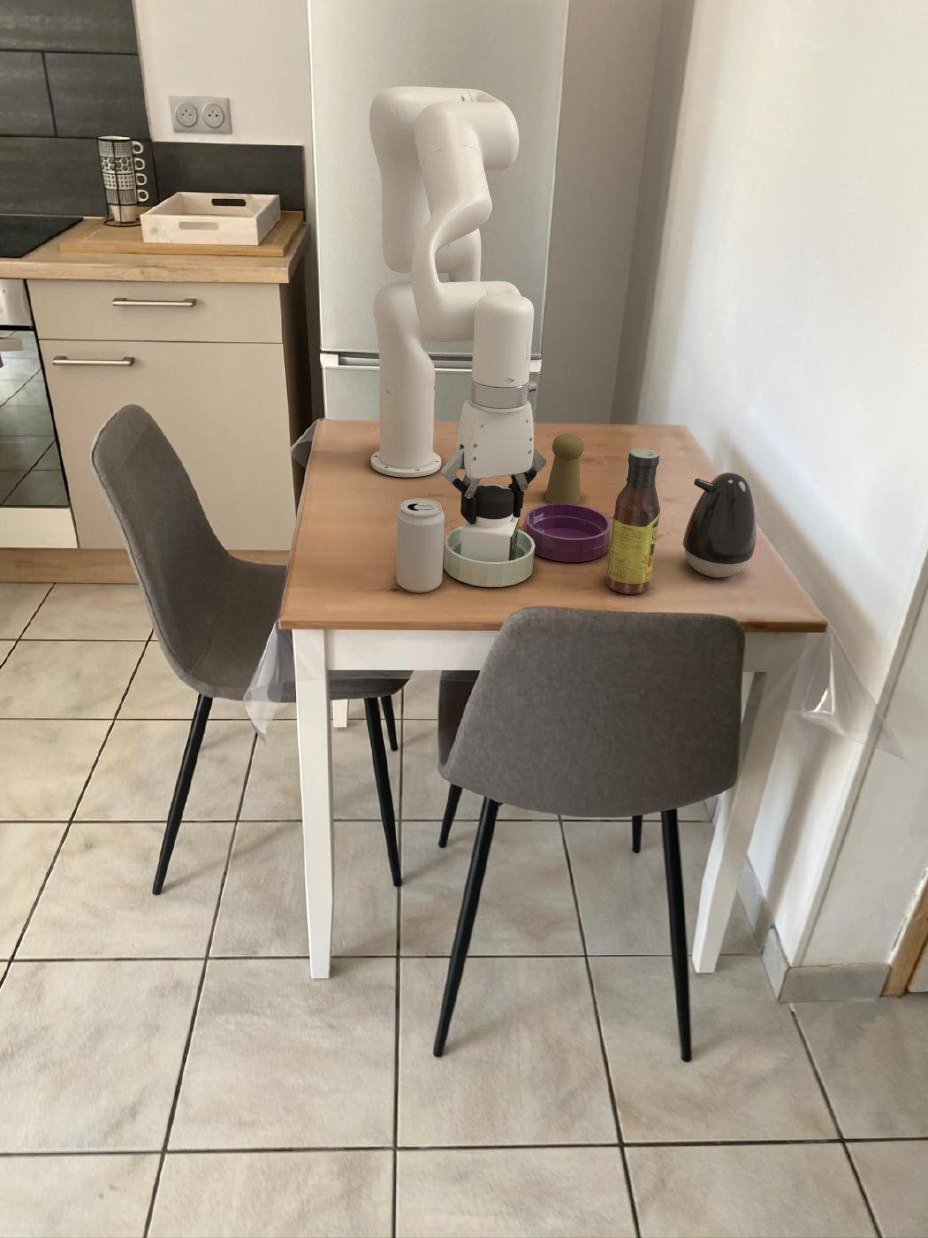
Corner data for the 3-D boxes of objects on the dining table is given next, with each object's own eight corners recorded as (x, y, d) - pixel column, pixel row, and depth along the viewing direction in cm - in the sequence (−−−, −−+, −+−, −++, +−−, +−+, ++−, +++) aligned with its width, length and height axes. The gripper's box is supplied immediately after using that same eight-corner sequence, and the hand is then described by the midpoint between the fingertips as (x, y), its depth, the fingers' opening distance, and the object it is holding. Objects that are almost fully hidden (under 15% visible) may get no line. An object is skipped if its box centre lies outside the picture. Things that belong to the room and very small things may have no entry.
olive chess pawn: (583, 495, 164) (591, 433, 158) (575, 508, 159) (583, 445, 153) (549, 489, 165) (555, 428, 160) (540, 502, 161) (546, 439, 155)
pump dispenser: (669, 553, 146) (686, 459, 138) (735, 553, 147) (755, 460, 139) (688, 585, 137) (706, 487, 130) (758, 586, 138) (780, 488, 130)
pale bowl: (430, 554, 142) (430, 530, 140) (508, 541, 147) (510, 518, 145) (465, 595, 132) (466, 569, 130) (548, 580, 137) (550, 555, 135)
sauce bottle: (653, 596, 134) (675, 463, 124) (609, 596, 134) (628, 462, 123) (642, 574, 140) (662, 445, 130) (600, 574, 139) (617, 444, 129)
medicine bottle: (508, 579, 136) (514, 502, 130) (459, 573, 137) (462, 495, 131) (516, 557, 142) (522, 482, 136) (468, 551, 143) (472, 476, 137)
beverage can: (395, 573, 137) (396, 495, 131) (440, 573, 137) (443, 496, 131) (397, 595, 131) (397, 515, 125) (443, 595, 132) (446, 515, 126)
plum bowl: (508, 532, 150) (510, 509, 148) (581, 521, 155) (583, 498, 153) (547, 569, 140) (550, 544, 138) (623, 556, 145) (627, 532, 143)
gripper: (544, 379, 132) (533, 499, 142) (427, 389, 126) (424, 514, 135) (570, 395, 127) (557, 519, 136) (449, 407, 120) (445, 536, 129)
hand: (491, 516), depth 135 cm, fingers open, 6 cm apart
